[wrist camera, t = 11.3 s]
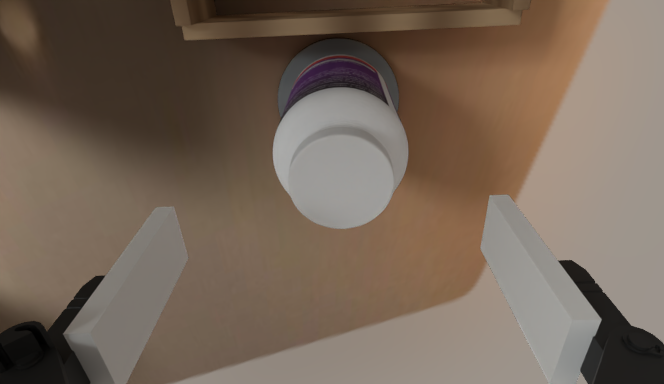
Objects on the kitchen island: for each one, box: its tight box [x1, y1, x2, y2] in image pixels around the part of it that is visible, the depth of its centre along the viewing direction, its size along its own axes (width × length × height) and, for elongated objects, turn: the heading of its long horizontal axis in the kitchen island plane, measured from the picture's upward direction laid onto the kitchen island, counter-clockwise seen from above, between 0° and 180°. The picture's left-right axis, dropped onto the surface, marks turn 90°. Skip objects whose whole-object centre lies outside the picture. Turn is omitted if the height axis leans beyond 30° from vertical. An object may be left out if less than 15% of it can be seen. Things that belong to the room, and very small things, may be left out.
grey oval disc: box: [278, 38, 399, 117], centre depth 33 cm, size 10×10×1 cm
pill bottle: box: [273, 54, 408, 229], centre depth 27 cm, size 8×8×14 cm
